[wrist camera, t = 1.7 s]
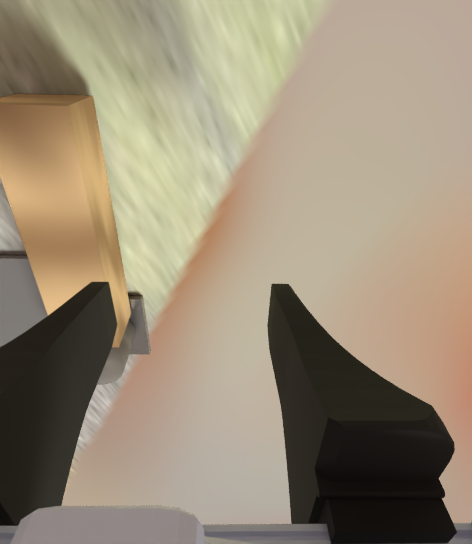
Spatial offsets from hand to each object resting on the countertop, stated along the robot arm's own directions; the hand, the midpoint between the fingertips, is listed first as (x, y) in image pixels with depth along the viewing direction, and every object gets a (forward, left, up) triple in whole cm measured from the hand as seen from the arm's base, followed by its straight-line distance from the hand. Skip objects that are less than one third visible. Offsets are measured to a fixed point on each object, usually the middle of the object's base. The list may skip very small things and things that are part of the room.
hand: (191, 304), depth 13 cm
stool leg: (-2, +7, -8) cm, 11 cm away
